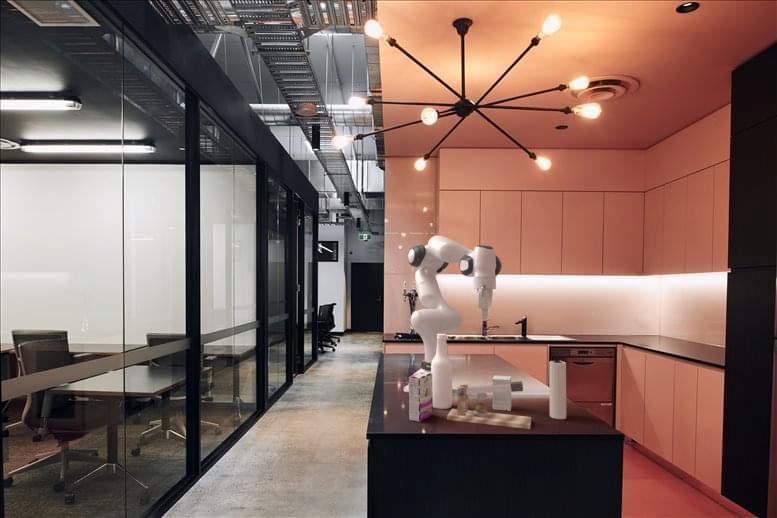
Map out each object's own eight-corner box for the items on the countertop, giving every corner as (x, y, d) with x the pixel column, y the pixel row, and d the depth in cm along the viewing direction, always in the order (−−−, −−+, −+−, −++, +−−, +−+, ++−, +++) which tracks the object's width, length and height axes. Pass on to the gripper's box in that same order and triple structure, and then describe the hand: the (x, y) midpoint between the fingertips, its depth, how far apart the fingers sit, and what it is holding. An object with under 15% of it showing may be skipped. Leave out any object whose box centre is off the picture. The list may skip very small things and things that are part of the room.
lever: (459, 401, 172) (457, 388, 173) (461, 399, 176) (459, 386, 176) (523, 397, 164) (521, 383, 165) (524, 395, 168) (522, 381, 168)
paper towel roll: (557, 420, 171) (557, 363, 172) (546, 416, 176) (545, 360, 177) (572, 418, 173) (571, 362, 174) (560, 414, 179) (559, 359, 180)
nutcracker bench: (447, 419, 170) (447, 387, 171) (452, 412, 180) (452, 382, 180) (530, 429, 160) (530, 395, 161) (531, 421, 170) (531, 388, 170)
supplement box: (511, 406, 189) (511, 376, 190) (510, 411, 182) (510, 379, 183) (493, 404, 192) (493, 374, 192) (492, 409, 185) (492, 378, 185)
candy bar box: (421, 412, 179) (422, 371, 180) (433, 415, 176) (433, 372, 177) (407, 420, 169) (408, 376, 170) (419, 422, 167) (419, 377, 167)
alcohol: (454, 409, 185) (455, 335, 186) (434, 409, 183) (434, 335, 185) (448, 403, 193) (448, 332, 195) (428, 403, 192) (429, 333, 193)
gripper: (490, 285, 173) (490, 321, 172) (494, 284, 192) (494, 317, 192) (474, 284, 175) (474, 320, 174) (479, 284, 194) (479, 316, 194)
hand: (484, 318), depth 183 cm, fingers closed
